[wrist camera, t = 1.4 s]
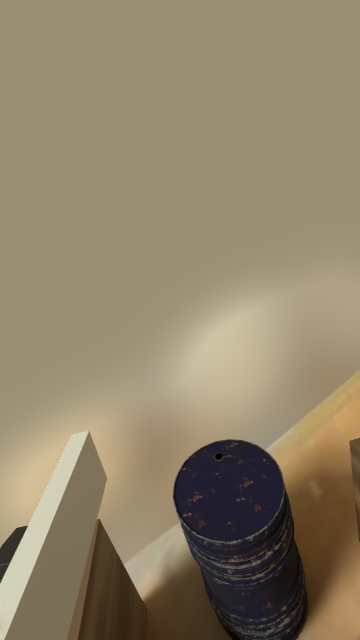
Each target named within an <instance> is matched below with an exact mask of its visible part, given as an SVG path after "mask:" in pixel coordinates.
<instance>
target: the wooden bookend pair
mask: <svg viewBox="0 0 360 640" xmlns="http://www.w3.org/2000/svg"><path fill="white" fill-rule="evenodd" d="M349 442H350V452H351V462H352V472H353V483H354V493H355V503H356V513H357V523H358V534H359V542H360V438H358V439H354V440H351V441H349ZM67 640H146V607H145V605H144V603H143V601H142V599H141V597H140V595H139V594H138V592H137V590H136V588H135V586H134V584H133V582H132V580H131V578H130V576H129V574H128V573H127V571H126V569H125V567H124V565H123V563H122V561H121V560H120V557H119V555H118V554H117V552H116V550H115V548H114V546H113V544H112V543H111V540H110V538H109V536H108V534H107V533H106V531H105V529H104V527H103V525H102V523H101V521H100V519H97V521H96V525H95V529H94V533H93V537H92V541H91V545H90V549H89V553H88V557H87V561H86V565H85V569H84V573H83V577H82V581H81V585H80V589H79V593H78V597H77V601H76V605H75V609H74V613H73V617H72V621H71V625H70V629H69V633H68V637H67Z"/></svg>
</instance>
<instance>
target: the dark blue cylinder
mask: <svg viewBox="0 0 360 640" xmlns="http://www.w3.org/2000/svg"><path fill="white" fill-rule="evenodd" d="M173 500H174V506H175V508H176V512H177V514H178V517H179V519H180V521H181V526H182V529H183V532H184V535H185V538H186V540H187V543H188V545H189V548H190V551H191V553H192V555H193V557H194V559H195V560H196V562H197V563H198V564H199V566H200V568H201V573H202V577H203V580H204V584H205V588H206V591H207V594H208V597H209V599H210V602H211V604H212V606H213V608H214V610H215V612H216V614H217V616H218V618H219V620H220V622H221V624H222V626H223V628H224V629H225V631H226V632H227V634H228V635H229V636H230V637H231V638H232V639H233V640H296V639H297V638H298V636H299V634H300V633H301V631H302V629H303V626H304V623H305V620H306V615H307V604H308V601H307V591H306V586H305V575H304V570H303V566H302V561H301V558H300V555H299V552H298V548H297V545H296V543H295V540H294V521H293V517H292V512H291V507H290V503H289V498H288V495H287V492H286V489H285V484H284V479H283V475H282V472H281V470H280V467H279V465H278V464H277V462H276V461H275V459H274V458H273V457H272V456H271V455H270V454H269V453H268V452H267V451H265V450H264V449H263V448H261V447H259V446H258V445H255V444H253V443H251V442H247V441H243V440H231V439H230V440H221V441H216V442H213V443H210V444H208V445H205V446H203V447H202V448H200V449H199V450H197V451H196V452H194V453H193V454H192V455H191V456H189V458H188V459H187V460H186V461H185V462H184V463H183V465H182V466H181V468H180V470H179V472H178V474H177V476H176V479H175V482H174V488H173Z"/></svg>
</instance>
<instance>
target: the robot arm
mask: <svg viewBox="0 0 360 640" xmlns="http://www.w3.org/2000/svg"><path fill="white" fill-rule="evenodd" d="M106 481H107V477H106V474H105V471H104V469H103V466H102V464H101V461H100V459H99V456H98V453H97V450H96V448H95V445H94V443H93V440H92V438H91V435H90V432H89V431H86V432H81V433H77V434H73V435H72V436H71V438H70V440H69V443H68V444H67V447H66V449H65V451H64V453H63V455H62V457H61V459H60V461H59V463H58V465H57V467H56V469H55V472H54V473H53V476H52V478H51V480H50V482H49V484H48V486H47V488H46V490H45V492H44V494H43V496H42V498H41V500H40V502H39V504H38V507H37V509H36V511H35V513H34V515H33V517H32V519H31V521H30V523H29V525H28V526H24V527H19V528H16V529H15V531H14V532H13V533H12V534H11V535H10V537H9V538H8V539H7V540H6V541H5V543H4V544H3V545H2V547H1V548H0V640H67V637H68V633H69V629H70V625H71V621H72V617H73V613H74V609H75V605H76V601H77V597H78V593H79V589H80V585H81V581H82V577H83V573H84V569H85V565H86V561H87V557H88V553H89V549H90V545H91V541H92V537H93V533H94V529H95V525H96V521H97V517H98V513H99V508H100V505H101V501H102V496H103V493H104V489H105V485H106Z"/></svg>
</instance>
